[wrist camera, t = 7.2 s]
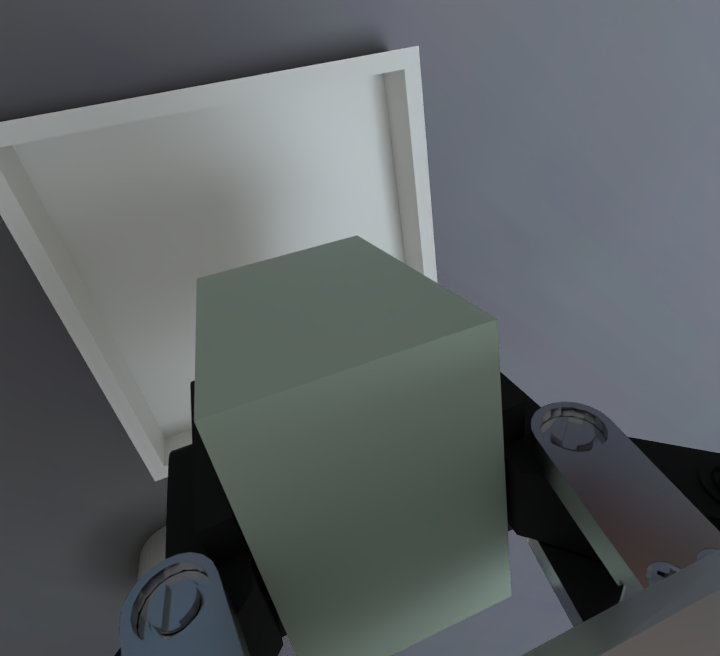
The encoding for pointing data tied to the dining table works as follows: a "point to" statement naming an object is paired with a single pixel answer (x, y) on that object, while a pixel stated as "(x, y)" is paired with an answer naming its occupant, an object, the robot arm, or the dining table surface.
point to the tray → (207, 209)
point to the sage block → (356, 443)
